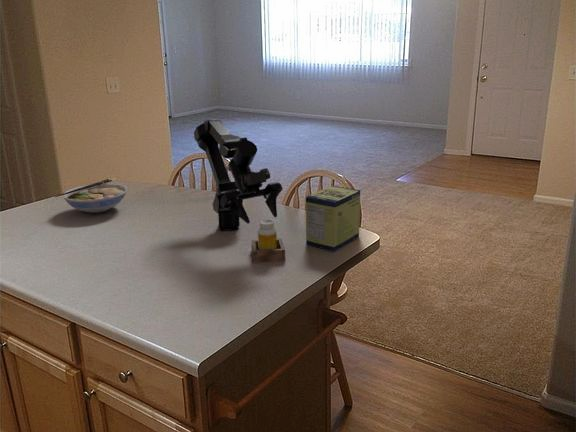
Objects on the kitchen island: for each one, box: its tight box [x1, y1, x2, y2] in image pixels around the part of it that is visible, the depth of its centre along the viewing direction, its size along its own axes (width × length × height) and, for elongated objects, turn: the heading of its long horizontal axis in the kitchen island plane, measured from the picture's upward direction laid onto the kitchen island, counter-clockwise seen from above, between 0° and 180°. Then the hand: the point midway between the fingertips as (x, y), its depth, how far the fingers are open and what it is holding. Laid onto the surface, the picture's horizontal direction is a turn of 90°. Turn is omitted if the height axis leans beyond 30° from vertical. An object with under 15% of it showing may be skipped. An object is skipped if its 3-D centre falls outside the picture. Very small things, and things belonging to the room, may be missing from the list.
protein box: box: [305, 185, 361, 252], centre depth 162 cm, size 10×16×16 cm
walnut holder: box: [250, 238, 286, 264], centre depth 154 cm, size 9×9×3 cm
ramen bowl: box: [54, 178, 128, 214], centre depth 196 cm, size 25×23×8 cm
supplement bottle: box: [257, 219, 277, 250], centre depth 153 cm, size 5×5×10 cm
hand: (262, 219), depth 153 cm, fingers open, 9 cm apart
